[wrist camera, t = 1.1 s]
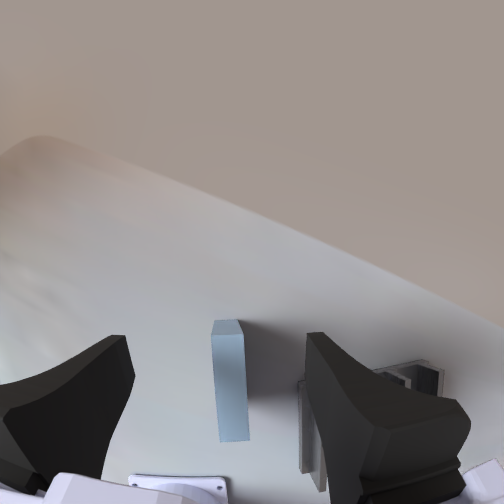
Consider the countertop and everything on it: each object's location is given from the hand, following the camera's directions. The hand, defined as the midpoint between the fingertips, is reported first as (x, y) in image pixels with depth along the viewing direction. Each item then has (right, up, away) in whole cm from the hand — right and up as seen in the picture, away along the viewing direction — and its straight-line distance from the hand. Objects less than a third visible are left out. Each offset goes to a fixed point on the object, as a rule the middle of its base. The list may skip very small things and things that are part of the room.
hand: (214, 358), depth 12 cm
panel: (0, -4, +10) cm, 11 cm away
